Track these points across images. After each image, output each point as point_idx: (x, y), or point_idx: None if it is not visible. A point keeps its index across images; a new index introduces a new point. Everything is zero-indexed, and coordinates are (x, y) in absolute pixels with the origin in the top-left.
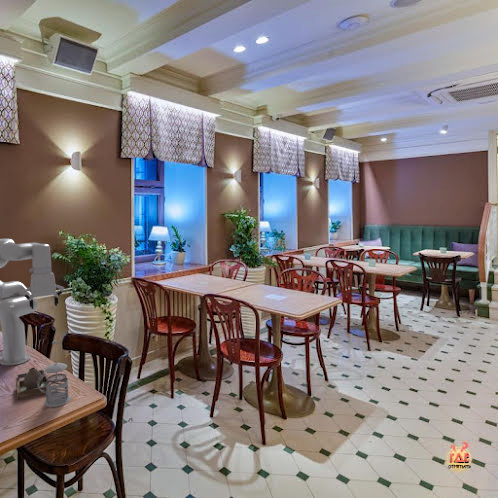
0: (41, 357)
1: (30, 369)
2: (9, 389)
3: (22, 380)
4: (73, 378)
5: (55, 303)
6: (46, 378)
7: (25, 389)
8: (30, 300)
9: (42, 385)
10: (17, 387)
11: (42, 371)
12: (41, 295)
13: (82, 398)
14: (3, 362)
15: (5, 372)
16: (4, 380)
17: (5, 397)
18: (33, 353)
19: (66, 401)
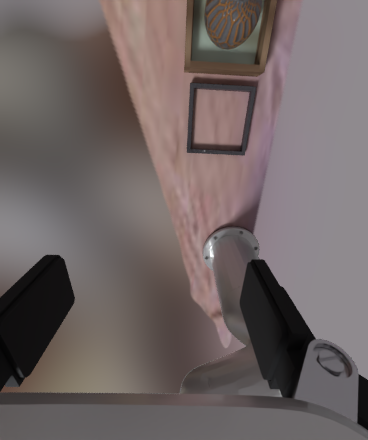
0: (181, 241)
1: (246, 4)
2: (274, 80)
3: (251, 68)
4: (119, 48)
5: (44, 271)
6: (191, 37)
7: None
8: (318, 340)
9: (202, 34)
10: (274, 12)
11: (190, 141)
12: (173, 400)
13: None
14: (255, 244)
15: (258, 198)
16: (270, 150)
17: (295, 23)
18: (193, 269)
19: None
